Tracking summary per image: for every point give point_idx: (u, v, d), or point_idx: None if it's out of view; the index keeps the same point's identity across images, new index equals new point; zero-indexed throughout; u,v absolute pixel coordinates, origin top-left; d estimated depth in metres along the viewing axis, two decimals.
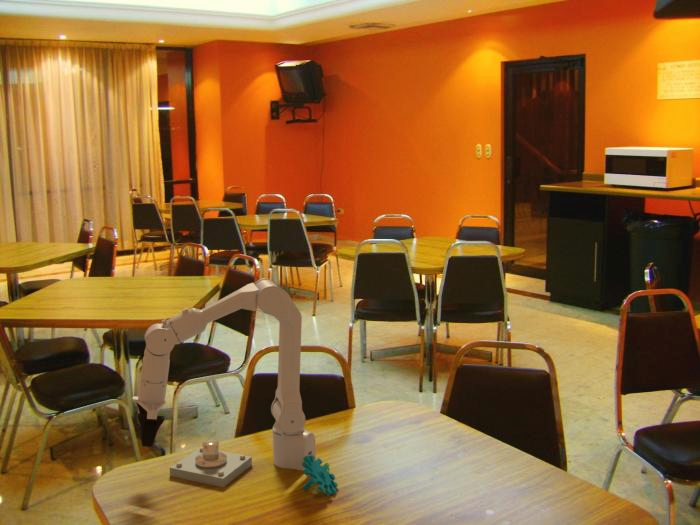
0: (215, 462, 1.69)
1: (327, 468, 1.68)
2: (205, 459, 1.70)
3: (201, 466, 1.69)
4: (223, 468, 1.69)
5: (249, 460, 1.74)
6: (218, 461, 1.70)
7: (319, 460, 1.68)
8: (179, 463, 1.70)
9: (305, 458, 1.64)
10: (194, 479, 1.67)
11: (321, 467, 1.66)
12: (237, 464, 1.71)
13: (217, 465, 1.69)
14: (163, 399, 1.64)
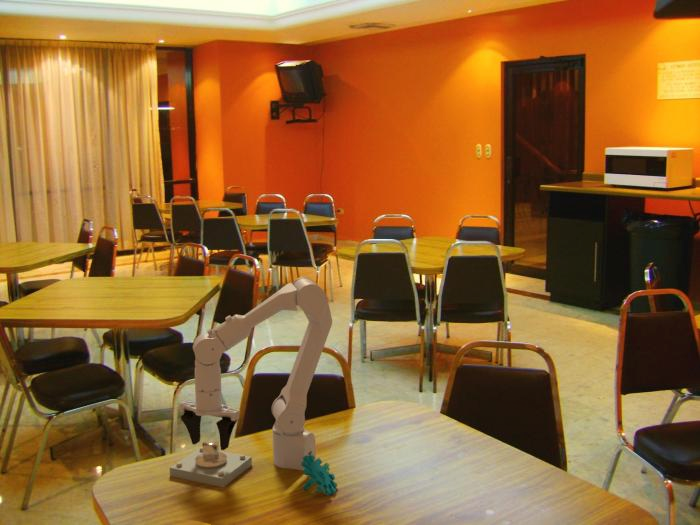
0: (215, 462, 1.69)
1: (327, 468, 1.68)
2: (205, 459, 1.70)
3: (201, 466, 1.69)
4: (223, 468, 1.69)
5: (249, 460, 1.74)
6: (218, 461, 1.70)
7: (319, 460, 1.68)
8: (179, 463, 1.70)
9: (305, 458, 1.64)
10: (194, 479, 1.67)
11: (321, 467, 1.66)
12: (237, 464, 1.71)
13: (217, 465, 1.69)
14: None
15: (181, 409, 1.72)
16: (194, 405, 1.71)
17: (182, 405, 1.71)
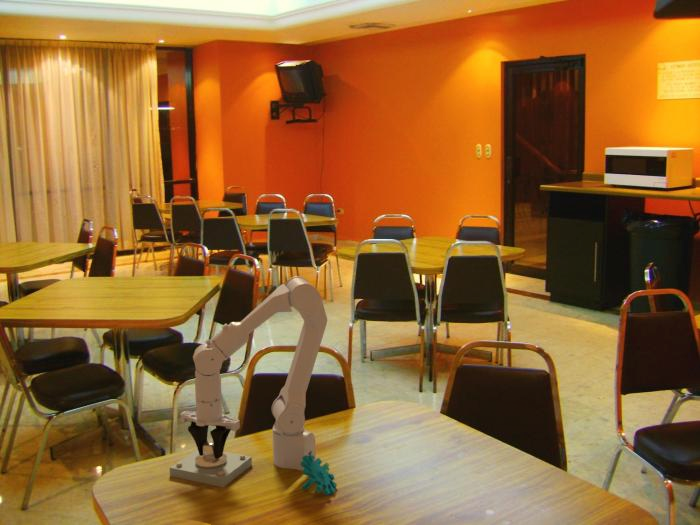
0: (215, 462, 1.69)
1: (326, 468, 1.68)
2: (205, 459, 1.70)
3: (201, 466, 1.69)
4: (223, 468, 1.69)
5: (249, 460, 1.74)
6: (218, 461, 1.70)
7: (319, 460, 1.68)
8: (179, 463, 1.70)
9: (304, 458, 1.64)
10: (194, 479, 1.67)
11: (320, 467, 1.66)
12: (237, 464, 1.71)
13: (217, 465, 1.69)
14: None
15: (182, 419, 1.72)
16: (195, 415, 1.71)
17: (183, 415, 1.72)
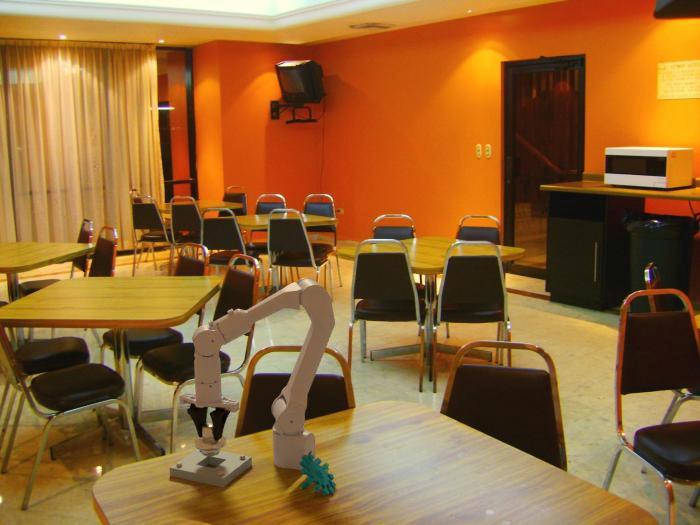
0: (214, 444, 1.69)
1: (326, 468, 1.68)
2: (204, 441, 1.70)
3: (200, 448, 1.68)
4: (223, 468, 1.69)
5: (249, 460, 1.74)
6: (217, 443, 1.69)
7: (318, 460, 1.68)
8: (179, 463, 1.70)
9: (303, 457, 1.64)
10: (194, 479, 1.67)
11: (320, 467, 1.66)
12: (237, 464, 1.71)
13: (216, 447, 1.68)
14: None
15: (181, 401, 1.71)
16: (194, 397, 1.71)
17: (182, 397, 1.71)
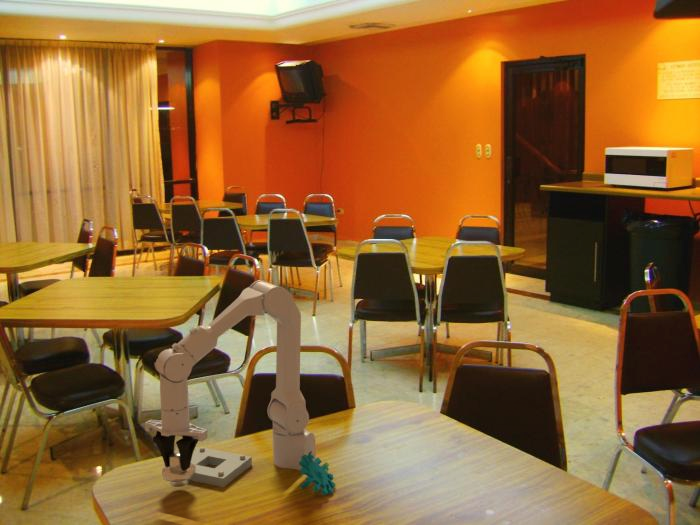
0: (182, 474, 1.60)
1: (326, 468, 1.68)
2: (172, 471, 1.61)
3: (168, 479, 1.59)
4: (223, 468, 1.69)
5: (249, 460, 1.74)
6: (185, 473, 1.61)
7: (318, 459, 1.68)
8: None
9: (303, 457, 1.65)
10: (194, 479, 1.67)
11: (319, 467, 1.66)
12: (237, 464, 1.71)
13: (184, 478, 1.59)
14: None
15: (147, 428, 1.62)
16: (160, 424, 1.62)
17: (148, 424, 1.62)
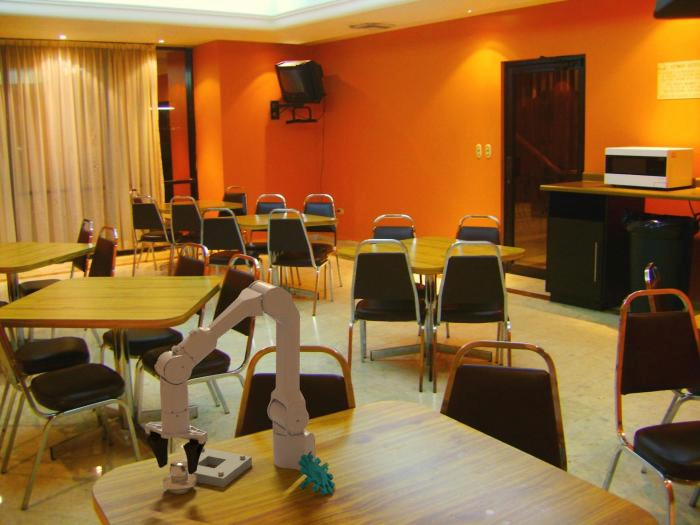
0: (183, 484, 1.60)
1: (325, 468, 1.68)
2: (173, 481, 1.61)
3: (168, 488, 1.60)
4: (223, 468, 1.69)
5: (249, 460, 1.74)
6: (186, 482, 1.61)
7: (318, 459, 1.68)
8: None
9: (302, 457, 1.65)
10: None
11: (319, 466, 1.66)
12: (237, 464, 1.71)
13: (185, 487, 1.60)
14: None
15: (147, 431, 1.62)
16: (160, 426, 1.62)
17: (148, 426, 1.62)
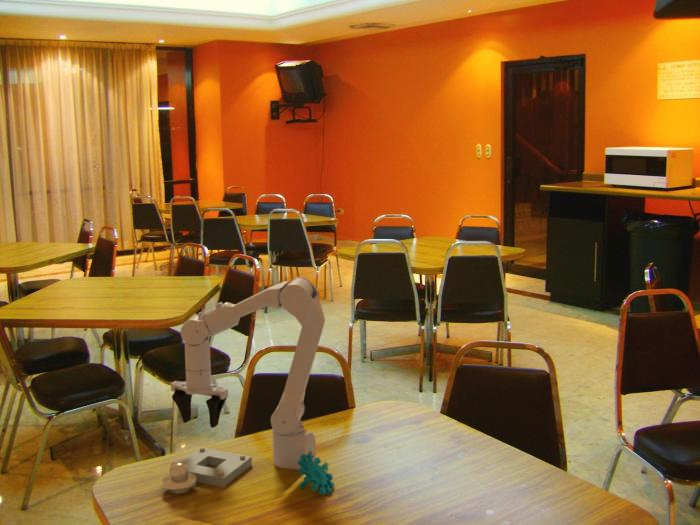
0: (184, 484, 1.60)
1: (325, 468, 1.68)
2: (173, 480, 1.61)
3: (169, 488, 1.60)
4: (223, 468, 1.69)
5: (249, 460, 1.74)
6: (186, 482, 1.61)
7: (317, 459, 1.68)
8: None
9: (302, 456, 1.65)
10: None
11: (318, 466, 1.66)
12: (237, 464, 1.71)
13: (186, 487, 1.60)
14: None
15: (172, 389, 1.78)
16: (185, 385, 1.77)
17: (173, 385, 1.78)
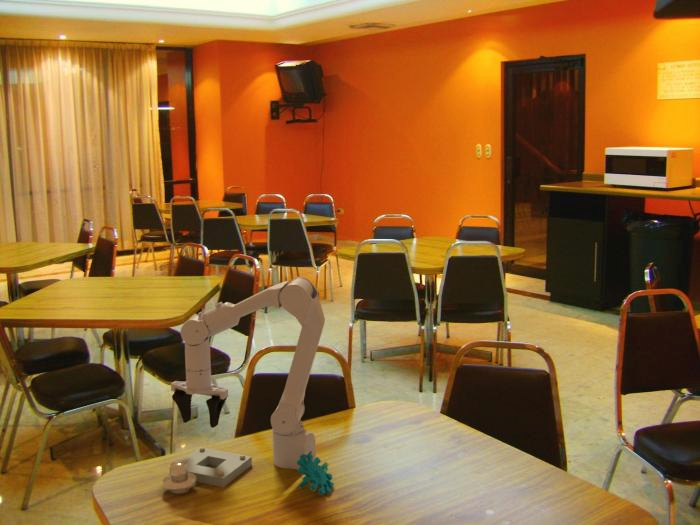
0: (183, 484, 1.60)
1: (325, 467, 1.68)
2: (173, 480, 1.61)
3: (169, 488, 1.60)
4: (223, 468, 1.69)
5: (249, 460, 1.74)
6: (186, 482, 1.61)
7: (317, 459, 1.68)
8: None
9: (301, 456, 1.65)
10: None
11: (318, 466, 1.66)
12: (237, 464, 1.71)
13: (185, 487, 1.60)
14: None
15: (172, 389, 1.78)
16: (185, 385, 1.77)
17: (173, 385, 1.78)
